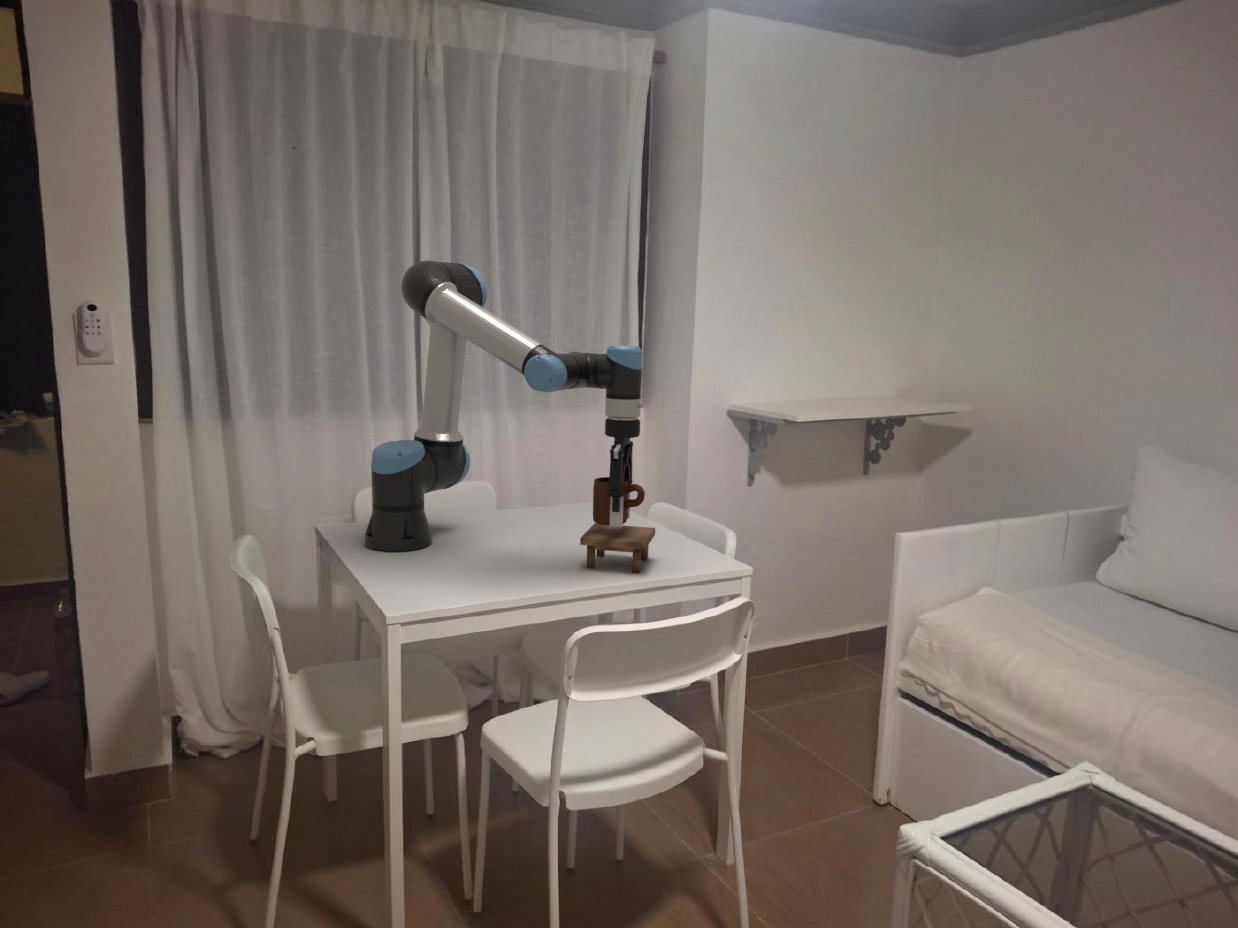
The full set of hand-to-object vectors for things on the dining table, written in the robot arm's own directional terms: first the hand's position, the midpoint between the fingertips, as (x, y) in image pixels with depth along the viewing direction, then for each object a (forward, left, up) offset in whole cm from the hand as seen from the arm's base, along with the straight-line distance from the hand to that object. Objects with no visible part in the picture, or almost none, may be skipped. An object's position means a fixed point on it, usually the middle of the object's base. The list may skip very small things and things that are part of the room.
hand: (619, 521), depth 197 cm
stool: (0, 0, -9) cm, 9 cm away
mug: (0, -1, 0) cm, 1 cm away
